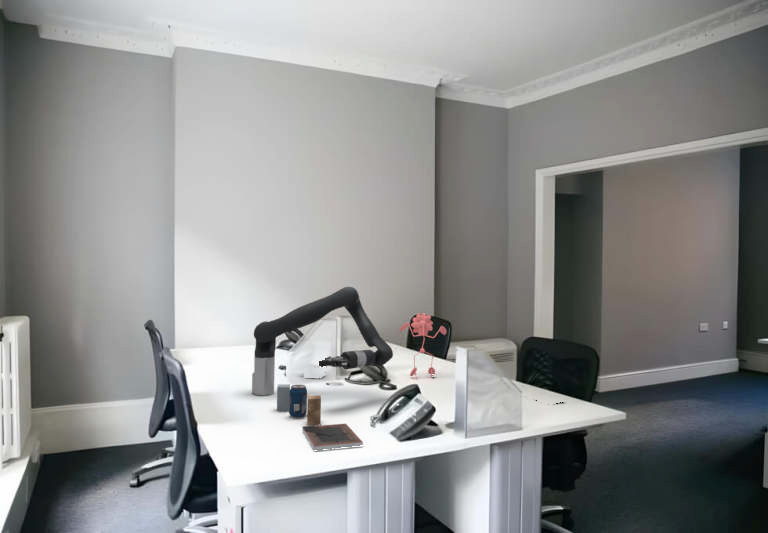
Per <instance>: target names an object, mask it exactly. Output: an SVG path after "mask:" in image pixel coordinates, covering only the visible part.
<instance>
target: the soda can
mask: <svg viewBox="0 0 768 533" xmlns="http://www.w3.org/2000/svg"><path fill="white" fill-rule="evenodd" d="M307 403H308V389H307V386H306V385H305V384H293V385H290V400H289V411H288V414H289V416H290V417H291V418H293V417H294V418H293V419H302V418H305V417H306V416H307ZM301 417H302V418H301Z"/></svg>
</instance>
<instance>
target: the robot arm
mask: <svg viewBox="0 0 768 533" xmlns="http://www.w3.org/2000/svg"><path fill="white" fill-rule="evenodd" d="M340 308H344V309H345V310H346V311H347V312H348V313H349V314H350V316H351V317H352V319H353V321H354V322H355V324H356V326H357V328H358V330H359V333H360V334H361V337H362V339H363V340H364V342H365V343H366V345H367V346H368V347H369V348H374V347H375V348H376V349H377V350H375V351H374V350H371V349H364V350H361V349H360V350H357V349H355V350H348V351H343V352H342V353H341V354H340V355H335V356H333V357H332V356H327V358H325V360H322V361H319V366H321V367H323V366H326V367H333V368H337V367H338V368H342V369H344V370H351V369H358V368H362V367H367V366H371V367H376V368H377V367H383V366H384V365H386V364H387V363H388V362H390V361H391V360H392V358H393V357H394V353H393V350H392V347H391V346H390V345H389V344H388V343H387V342H386V341H385V340H384V338H382V337H381V336H380V334H379V332H378V330H377V329H376V327H375V325H374V324H373V323H372V321H371V320H370V318H369V316H368V315H367V313H366V312H365V309H364V308H363V306H362V301H361V300H360V295H359V292H358V290H357V289H356V288H354V287H353V286H345V287H343V288H340V289H338V290H337V291H335V292H333V293H331V294H329V295H327V296H324V297H322V298H320V299H317V300H314V301H312V302H309V303H306V304H304V305H302V306H300V307H297V308H295V309H293V310H291V311H289V312H288V313H285V314H284V315H282V316H281V317H278V318H276V319H272V320H270V321H262V322H260V323H258V324H257V325H256V326H255V328H254V331H253V338H254V339H255V347H254V359H253V361H254V362H253V364H254V365H253V368H254V370H253V371H254V372H252V373H251V382H252V383H251V394H254V395H255V396H270V394H271V395H274V394H275V370H276V369H275V363H276V362H275V361H276V360H275V358H276V357H275V355H276V347H277V346H276V344H277V343H276V341H277V340H276V339H277V338H278V337H279V336H282V335H283V334H285V333H288V332H292V331H294V330H295V331H296V330H298V329H301V328H303V327H307V326H310V325H312V324H314V323H316V322H318V321H320V320H321V319H323V318H324V317H325V316H326V315H328V314H329V313H331V312H333V311H335V310H337V309H340Z"/></svg>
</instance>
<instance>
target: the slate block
mask: <svg viewBox="0 0 768 533" xmlns="http://www.w3.org/2000/svg"><path fill="white" fill-rule="evenodd" d="M290 389H291V384H290V383H289V384H282V383H281V384H280V383H279V384H277V387H276V390H277V391H276V412H277V411H279V412H289V400H290Z"/></svg>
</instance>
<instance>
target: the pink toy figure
mask: <svg viewBox="0 0 768 533" xmlns="http://www.w3.org/2000/svg"><path fill="white" fill-rule="evenodd" d="M431 319H432V316H431V315H429V314H427V315H426V313H425V312H423V313H420V312H418V313H417V314H416V316H415V317H413V318H412V323H411V324H410V322H409V321H408V322H406V323H403V325H402V326H401V327H400V328H399V330H398V332H399V333H401V332H403V331H404V330H406V328H407V327H409V330H410V331H411V334H412V337H414V338H415V337H423V341H422V345H421V348H419V349H420V350H419V352H417V353H416V354H415V355H414V356H413V362H414V363H413V367H414V368H413V369H412V370H411V371H410V373H409V374H410V375H409V376H412V377H413V376H415V377H416V378H417V371H418V368H417V367H416V365H415V364H416V363H415V362H416V360H415V357H416V356H417V355H418V354H419V353H421V354H425V353H426V354H428V355H429V356H431V361H433V358H434V356H433V354H431V353H429V352H427V351H426V350H425V348H424V344H425V337H428V338H431V339H434V338H436V336H437V335H438V334H439V332H440V333H441V334H442V335H443V336H445V335H446V334H447V328H445V326H443V325H441V326H440V327H439V329H438V331H437V332H436V333H435V334H434V336H431V335H428V334H429V331H430V332H431V331H433V326H432V325H433V324H434V322H433V321H432V320H431ZM411 327H412V328H413V329H412V328H411ZM414 333H415V334H416V333H417V334H416V335H414ZM430 365H431V366H430V367H428V370H427V372H428V375H429V374H431V375H432V374H434V375H435V374H436V369H435V368H434V367H433V362H431V364H430ZM431 375H430V376H431ZM434 375H432V376H433V377H434ZM432 376H431V377H432Z"/></svg>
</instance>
